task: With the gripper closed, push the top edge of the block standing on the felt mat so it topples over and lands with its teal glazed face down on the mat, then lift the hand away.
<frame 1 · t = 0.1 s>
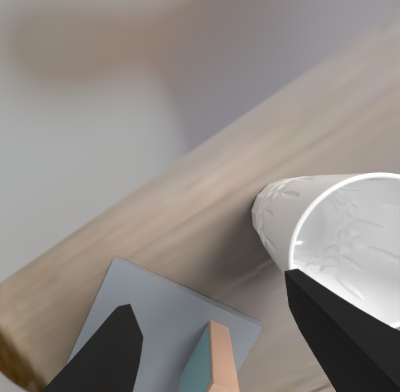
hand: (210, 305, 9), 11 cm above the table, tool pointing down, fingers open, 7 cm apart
block: (204, 352, 20), point 1 cm above the table, touching felt mat
white cup: (285, 213, 20), on the table
felt mat: (161, 345, 21), on the table
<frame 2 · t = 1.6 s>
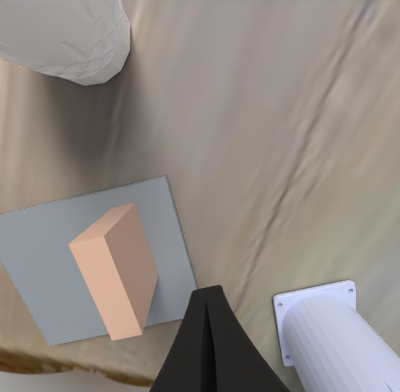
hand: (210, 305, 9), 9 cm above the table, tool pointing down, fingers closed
block: (136, 242, 18), point 1 cm above the table, touching felt mat
white cup: (84, 34, 14), on the table
felt mat: (104, 266, 19), on the table
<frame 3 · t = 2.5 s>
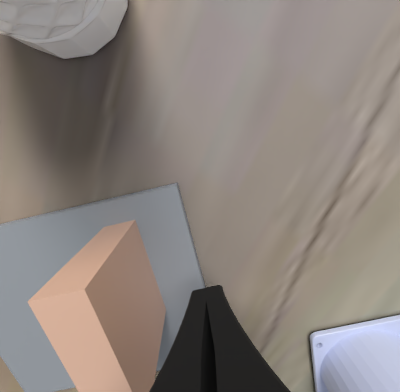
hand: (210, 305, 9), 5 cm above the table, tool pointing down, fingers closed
block: (137, 271, 13), point 1 cm above the table, touching felt mat
felt mat: (96, 298, 15), on the table
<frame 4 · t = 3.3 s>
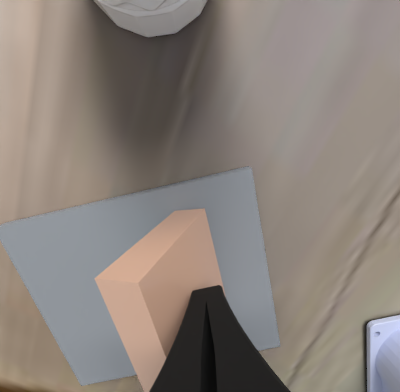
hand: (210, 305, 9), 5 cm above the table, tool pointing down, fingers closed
block: (202, 260, 13), point 1 cm above the table, tilted 24°, touching felt mat
felt mat: (155, 285, 15), on the table
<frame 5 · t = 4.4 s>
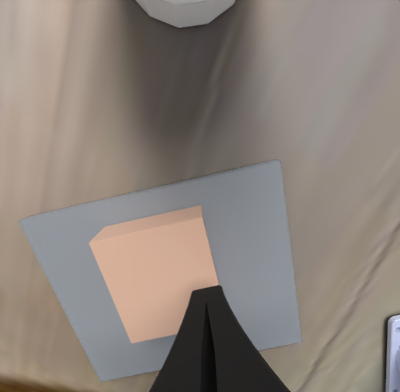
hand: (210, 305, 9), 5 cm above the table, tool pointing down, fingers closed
block: (214, 264, 12), point 2 cm above the table, tilted 90°, touching felt mat
felt mat: (177, 280, 15), on the table
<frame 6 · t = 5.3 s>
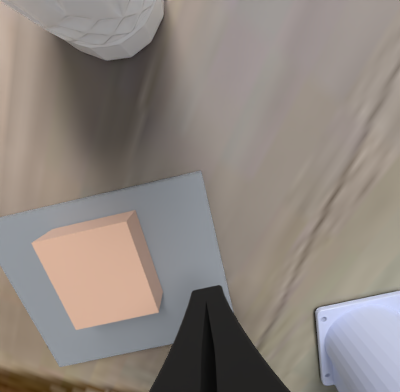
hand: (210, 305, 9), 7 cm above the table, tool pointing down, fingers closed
block: (147, 261, 14), point 2 cm above the table, tilted 90°, touching felt mat
felt mat: (124, 276, 17), on the table
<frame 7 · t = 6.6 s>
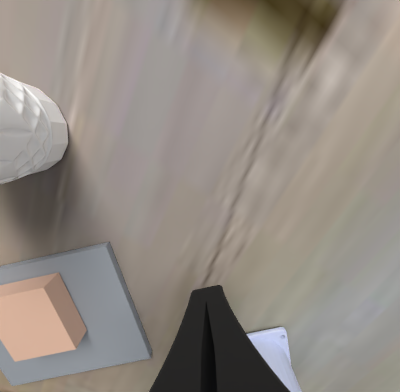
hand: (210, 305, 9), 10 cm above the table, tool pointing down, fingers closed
block: (67, 310, 19), point 2 cm above the table, tilted 90°, touching felt mat
white cup: (28, 129, 17), on the table
felt mat: (58, 316, 21), on the table
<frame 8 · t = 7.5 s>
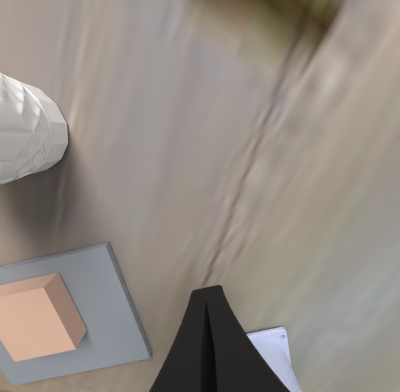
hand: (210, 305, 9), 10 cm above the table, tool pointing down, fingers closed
block: (67, 310, 19), point 2 cm above the table, tilted 90°, touching felt mat
white cup: (28, 129, 17), on the table
felt mat: (58, 316, 21), on the table
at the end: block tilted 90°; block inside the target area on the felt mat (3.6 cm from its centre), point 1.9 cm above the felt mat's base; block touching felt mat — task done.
